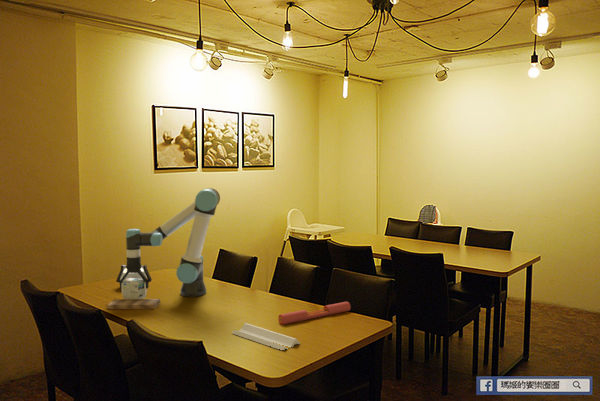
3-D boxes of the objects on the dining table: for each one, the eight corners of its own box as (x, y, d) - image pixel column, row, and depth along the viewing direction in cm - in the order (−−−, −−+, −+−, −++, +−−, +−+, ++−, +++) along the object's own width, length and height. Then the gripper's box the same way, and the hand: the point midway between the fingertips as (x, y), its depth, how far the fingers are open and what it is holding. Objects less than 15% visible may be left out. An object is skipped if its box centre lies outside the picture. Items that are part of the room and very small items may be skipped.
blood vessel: (283, 326, 234) (283, 316, 233) (278, 323, 238) (278, 313, 237) (350, 311, 257) (350, 302, 256) (344, 309, 261) (344, 300, 260)
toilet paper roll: (141, 290, 296) (141, 272, 295) (116, 289, 296) (116, 272, 295) (150, 283, 311) (149, 267, 310) (126, 283, 311) (125, 267, 310)
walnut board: (160, 302, 269) (160, 298, 269) (155, 308, 258) (155, 304, 258) (114, 303, 268) (114, 299, 268) (107, 308, 257) (107, 304, 257)
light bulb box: (146, 297, 276) (145, 278, 275) (138, 300, 270) (138, 281, 269) (130, 295, 280) (130, 277, 279) (122, 298, 273) (122, 280, 272)
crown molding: (232, 335, 222) (232, 327, 221) (250, 328, 231) (250, 321, 231) (283, 352, 202) (283, 344, 202) (301, 344, 211) (301, 336, 211)
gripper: (156, 255, 277) (157, 292, 279) (114, 255, 276) (115, 292, 278) (153, 257, 270) (154, 295, 271) (109, 257, 269) (110, 295, 270)
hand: (134, 294), depth 275 cm, fingers closed on light bulb box, 12 cm apart
